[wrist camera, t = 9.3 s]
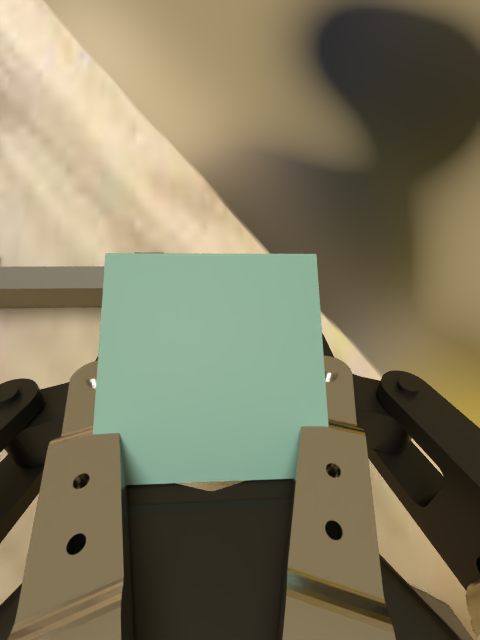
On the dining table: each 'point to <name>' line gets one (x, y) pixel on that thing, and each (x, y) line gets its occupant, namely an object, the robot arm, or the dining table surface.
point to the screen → (51, 286)
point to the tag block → (209, 364)
